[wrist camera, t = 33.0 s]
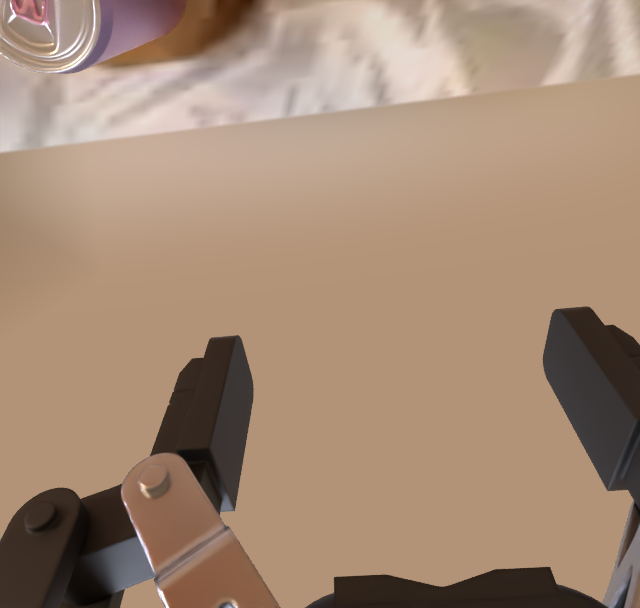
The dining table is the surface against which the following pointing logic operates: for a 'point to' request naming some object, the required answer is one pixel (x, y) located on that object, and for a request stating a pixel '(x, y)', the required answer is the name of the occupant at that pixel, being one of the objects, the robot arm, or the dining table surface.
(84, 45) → the beverage can
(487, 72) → the dining table surface
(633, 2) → the dining table surface
